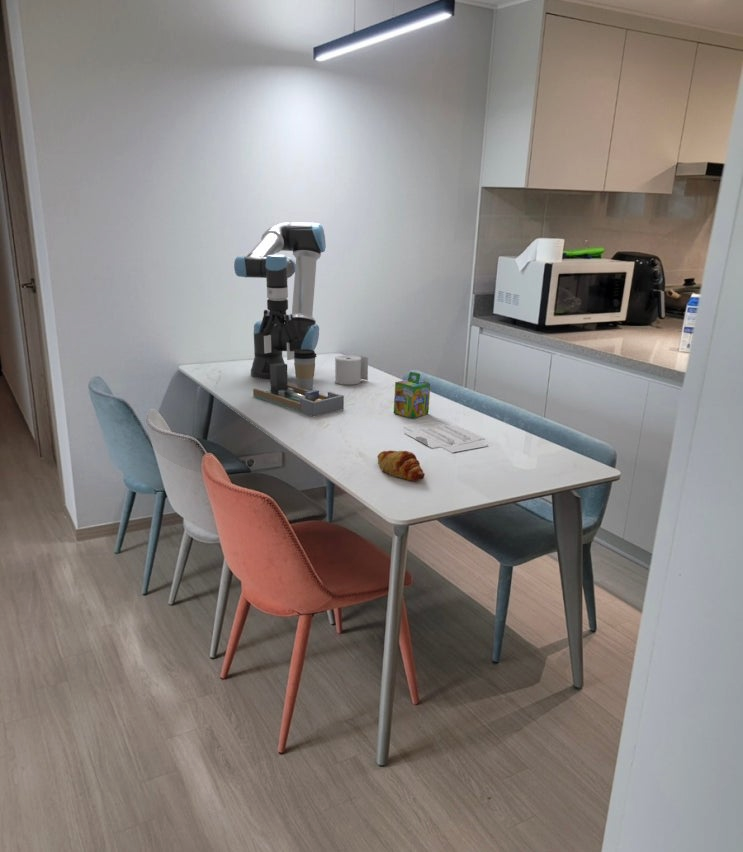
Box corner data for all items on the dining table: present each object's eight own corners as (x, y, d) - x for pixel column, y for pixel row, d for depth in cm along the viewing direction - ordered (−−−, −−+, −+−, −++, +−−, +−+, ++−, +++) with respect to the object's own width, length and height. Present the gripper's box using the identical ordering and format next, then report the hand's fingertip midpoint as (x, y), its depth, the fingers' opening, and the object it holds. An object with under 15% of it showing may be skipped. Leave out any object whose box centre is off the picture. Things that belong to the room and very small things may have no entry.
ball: (328, 401, 252) (325, 410, 254) (321, 395, 254) (318, 405, 256) (319, 403, 249) (317, 413, 251) (312, 397, 251) (310, 407, 253)
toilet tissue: (329, 381, 293) (329, 357, 290) (351, 376, 300) (352, 353, 297) (346, 386, 285) (346, 361, 282) (368, 381, 293) (369, 357, 290)
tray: (444, 422, 244) (445, 412, 243) (496, 450, 222) (498, 439, 220) (394, 430, 235) (394, 420, 233) (443, 460, 212) (444, 449, 211)
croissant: (370, 473, 206) (360, 452, 202) (396, 452, 209) (386, 431, 205) (414, 497, 189) (404, 475, 185) (441, 474, 192) (431, 452, 188)
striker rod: (281, 390, 271) (280, 362, 268) (319, 403, 256) (319, 373, 253) (270, 393, 268) (269, 364, 264) (308, 405, 253) (308, 375, 250)
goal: (329, 404, 260) (329, 391, 258) (343, 409, 255) (343, 395, 253) (300, 412, 250) (299, 398, 248) (314, 416, 245) (313, 402, 243)
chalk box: (392, 413, 251) (394, 372, 246) (409, 408, 257) (411, 368, 252) (413, 419, 245) (414, 377, 240) (429, 414, 251) (431, 373, 246)
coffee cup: (318, 386, 285) (318, 349, 280) (314, 392, 276) (314, 354, 271) (295, 384, 285) (294, 348, 281) (290, 391, 277) (289, 353, 272)
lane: (282, 389, 278) (282, 381, 277) (330, 405, 259) (330, 395, 258) (253, 396, 268) (252, 387, 267) (301, 412, 250) (300, 402, 249)
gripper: (248, 295, 263) (250, 351, 270) (291, 304, 246) (292, 364, 253) (264, 293, 268) (266, 348, 275) (307, 302, 251) (308, 360, 258)
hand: (279, 356), depth 264 cm, fingers open, 13 cm apart
